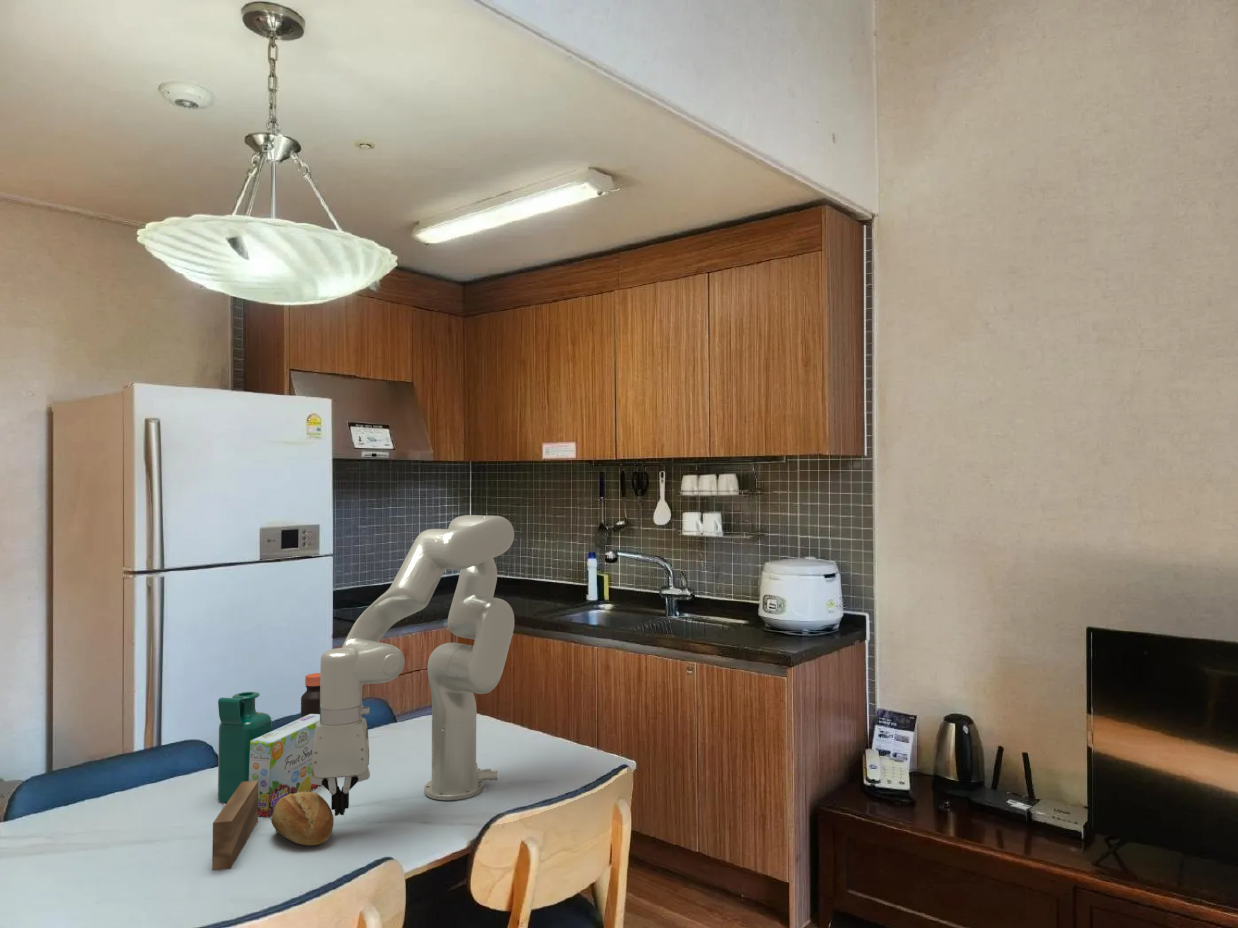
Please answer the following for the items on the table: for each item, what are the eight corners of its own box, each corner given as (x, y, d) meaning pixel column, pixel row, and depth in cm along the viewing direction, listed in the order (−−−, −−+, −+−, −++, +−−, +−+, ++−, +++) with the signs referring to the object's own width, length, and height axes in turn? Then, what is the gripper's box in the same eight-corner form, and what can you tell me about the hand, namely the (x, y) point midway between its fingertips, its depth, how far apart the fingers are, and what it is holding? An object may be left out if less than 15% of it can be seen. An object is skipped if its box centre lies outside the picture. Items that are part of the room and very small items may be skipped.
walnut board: (257, 821, 155) (258, 780, 156) (231, 868, 136) (231, 820, 136) (241, 822, 155) (241, 781, 155) (212, 869, 135) (212, 822, 136)
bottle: (294, 758, 193) (295, 675, 193) (319, 750, 198) (319, 670, 199) (311, 763, 189) (312, 679, 190) (335, 755, 194) (336, 674, 195)
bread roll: (294, 858, 139) (295, 812, 140) (259, 834, 150) (259, 791, 150) (345, 840, 146) (346, 797, 147) (308, 818, 157) (308, 778, 157)
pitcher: (240, 787, 173) (241, 686, 174) (274, 790, 172) (276, 688, 173) (208, 805, 164) (210, 698, 165) (244, 808, 162) (246, 700, 163)
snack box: (271, 818, 157) (272, 741, 158) (246, 816, 158) (247, 740, 159) (330, 780, 178) (331, 713, 178) (308, 778, 179) (308, 711, 180)
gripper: (383, 707, 155) (382, 801, 155) (302, 712, 152) (301, 808, 151) (380, 717, 148) (379, 816, 147) (295, 723, 145) (294, 824, 144)
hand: (340, 812), depth 149 cm, fingers closed
